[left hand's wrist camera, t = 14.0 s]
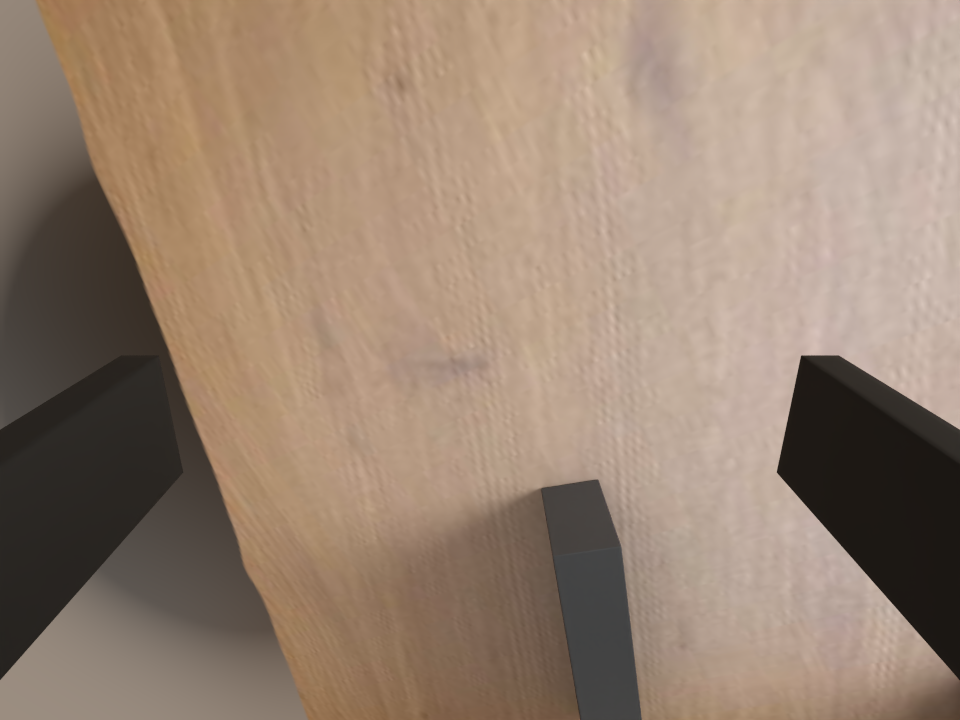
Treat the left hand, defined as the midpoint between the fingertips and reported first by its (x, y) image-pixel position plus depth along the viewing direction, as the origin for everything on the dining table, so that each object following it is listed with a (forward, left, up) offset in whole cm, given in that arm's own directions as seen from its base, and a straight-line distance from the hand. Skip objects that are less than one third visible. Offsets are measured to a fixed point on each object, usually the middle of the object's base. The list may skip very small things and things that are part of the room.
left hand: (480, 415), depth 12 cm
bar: (+33, +9, -29) cm, 45 cm away
